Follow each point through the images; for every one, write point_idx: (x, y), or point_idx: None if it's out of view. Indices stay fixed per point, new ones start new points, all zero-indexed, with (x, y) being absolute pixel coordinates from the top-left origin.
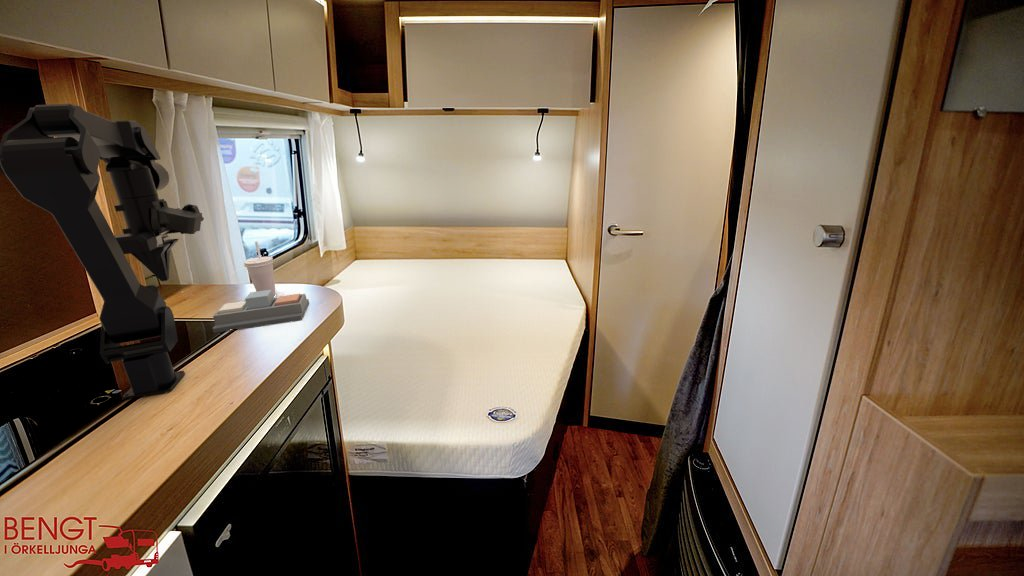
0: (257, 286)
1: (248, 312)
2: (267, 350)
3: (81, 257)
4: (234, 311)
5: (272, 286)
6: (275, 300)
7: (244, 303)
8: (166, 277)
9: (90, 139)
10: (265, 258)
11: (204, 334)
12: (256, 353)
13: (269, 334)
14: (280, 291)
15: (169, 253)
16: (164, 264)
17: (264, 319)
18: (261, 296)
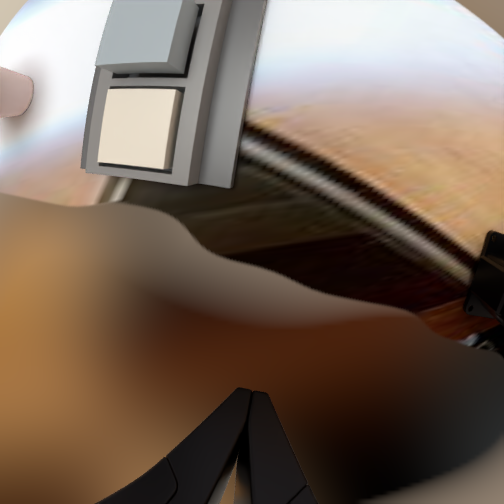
0: (1, 104)
1: (208, 69)
2: (461, 54)
3: None
4: (176, 117)
5: (8, 70)
6: None
7: (132, 89)
8: (270, 404)
9: None
10: None
11: (226, 213)
12: (467, 78)
13: (350, 31)
14: None
15: (123, 502)
16: (288, 479)
17: (241, 35)
18: (181, 6)
